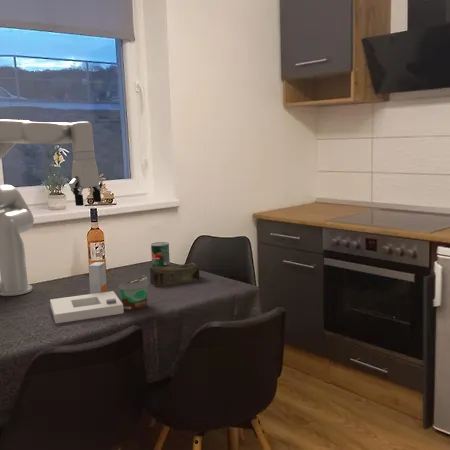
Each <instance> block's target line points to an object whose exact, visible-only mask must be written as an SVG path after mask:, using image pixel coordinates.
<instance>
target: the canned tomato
mask: <svg viewBox="0 0 450 450" xmlns="http://www.w3.org/2000/svg"><path fill="white" fill-rule="evenodd" d="M169 244H170V243H169V242H167V241H166V242H165V241H159V242H157V241H156V242H153V243H151V244H150V250H151V253H150V254H151V265H152V266H151V268H155V267H164V266H171V262H170V261H171V260H170V259H171V258H170V245H169Z"/></svg>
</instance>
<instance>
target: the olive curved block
mask: <svg viewBox="0 0 450 450" xmlns="http://www.w3.org/2000/svg"><path fill="white" fill-rule="evenodd" d="M200 274H201V273H200V266H198V265H196V263H194V262H190V263H183V264H175V265H170V266H164V267H155V268H152V267H150V268H149V278H150V279H149V281H150V282H149V283H150V284H152V285H153V287H155V288H157V287H163V286H171V285H177V284H186V283H193V282H199V281H200V279H201V276H200Z"/></svg>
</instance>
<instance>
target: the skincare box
mask: <svg viewBox="0 0 450 450" xmlns="http://www.w3.org/2000/svg"><path fill="white" fill-rule="evenodd" d="M106 270H107V269H106V262H104V261H95V262H93V263H91V264H89V265H88V278H89V279H88V280H89V294H95V293H102V292H108V290H107V285H108V284H107V271H106Z"/></svg>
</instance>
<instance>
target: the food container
mask: <svg viewBox="0 0 450 450" xmlns="http://www.w3.org/2000/svg"><path fill="white" fill-rule="evenodd" d="M140 276H141V277H140V278H139V277H138V278H137V279H131V280H129V281H128V282H126V283H123V282H119V284H118V290H120V297H121V302H122V304H123V309H124V312H136V311H138V312H139V311H142V310H144V309H147V306H148V303H147V302H148V286H149V285H150V282H149V281H150V280H149V278H148V277H147V276H146V275H144V274H142V275H140Z"/></svg>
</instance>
